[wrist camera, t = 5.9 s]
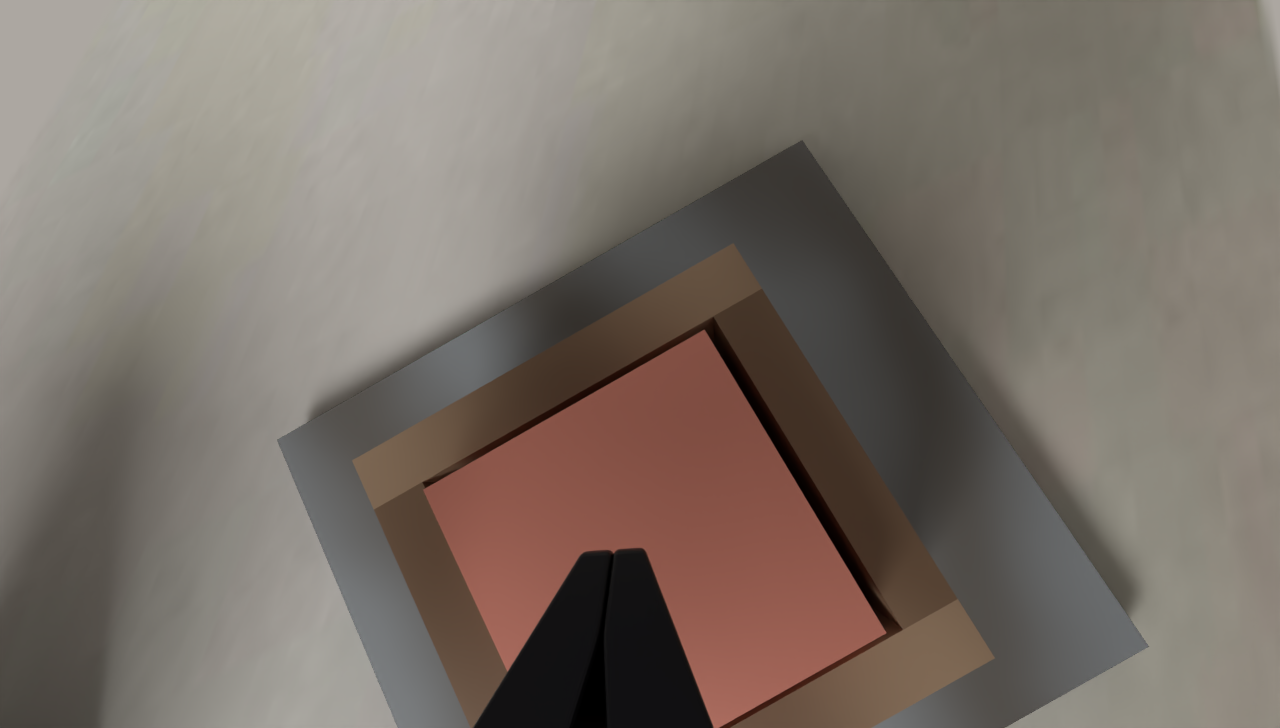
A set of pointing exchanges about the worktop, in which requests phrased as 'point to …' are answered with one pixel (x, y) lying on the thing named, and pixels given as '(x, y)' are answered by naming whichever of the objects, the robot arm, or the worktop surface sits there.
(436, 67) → the worktop surface
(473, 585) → the pink eraser block
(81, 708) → the worktop surface
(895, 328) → the stand
